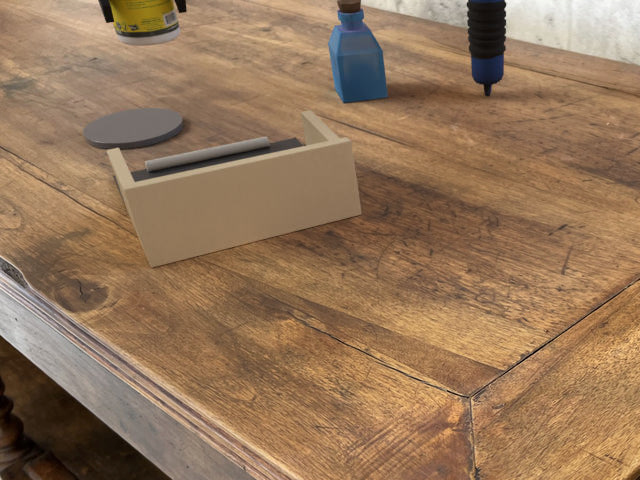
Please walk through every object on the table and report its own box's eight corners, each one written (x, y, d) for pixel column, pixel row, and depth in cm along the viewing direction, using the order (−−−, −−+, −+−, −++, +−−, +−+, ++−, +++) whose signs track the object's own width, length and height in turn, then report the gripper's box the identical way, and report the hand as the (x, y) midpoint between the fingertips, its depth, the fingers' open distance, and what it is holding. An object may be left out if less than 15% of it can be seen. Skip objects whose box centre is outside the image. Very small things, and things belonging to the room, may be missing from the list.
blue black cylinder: (505, 82, 115) (502, -77, 102) (525, 99, 109) (525, -66, 96) (452, 89, 113) (442, -72, 100) (470, 108, 107) (462, -60, 94)
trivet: (91, 156, 96) (89, 150, 95) (79, 124, 104) (77, 118, 103) (193, 136, 100) (191, 130, 100) (173, 107, 108) (172, 101, 108)
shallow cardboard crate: (151, 268, 75) (124, 189, 70) (115, 182, 90) (90, 112, 85) (362, 214, 83) (351, 140, 78) (297, 143, 98) (284, 77, 93)
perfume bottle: (335, 88, 113) (321, -3, 106) (377, 83, 115) (366, -7, 108) (343, 103, 109) (329, 9, 101) (387, 97, 111) (377, 4, 103)
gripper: (171, -179, 86) (243, 18, 85) (-30, -169, 79) (47, 46, 78) (166, -242, 79) (244, -28, 78) (-55, -237, 72) (29, -1, 71)
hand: (145, 9), depth 78 cm, fingers closed on pill bottle, 6 cm apart
